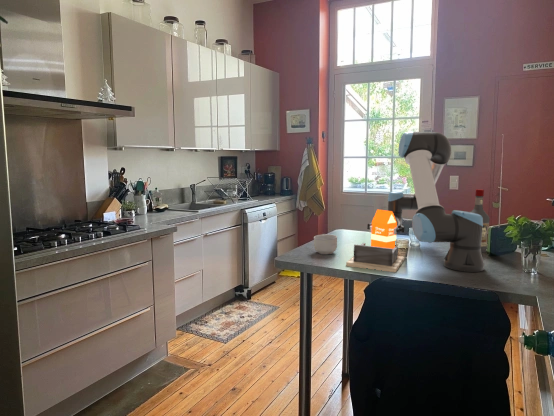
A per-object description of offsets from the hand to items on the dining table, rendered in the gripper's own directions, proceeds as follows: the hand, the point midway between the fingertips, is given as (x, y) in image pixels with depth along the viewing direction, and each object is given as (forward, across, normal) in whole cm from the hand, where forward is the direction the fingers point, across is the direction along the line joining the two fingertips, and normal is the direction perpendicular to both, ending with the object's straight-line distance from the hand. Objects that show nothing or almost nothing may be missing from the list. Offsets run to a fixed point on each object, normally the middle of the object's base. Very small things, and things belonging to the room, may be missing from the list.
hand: (382, 230), depth 188 cm
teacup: (+10, +24, -11) cm, 28 cm away
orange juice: (-4, 0, -11) cm, 12 cm away
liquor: (-31, -40, -11) cm, 52 cm away
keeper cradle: (+17, -1, -11) cm, 21 cm away
